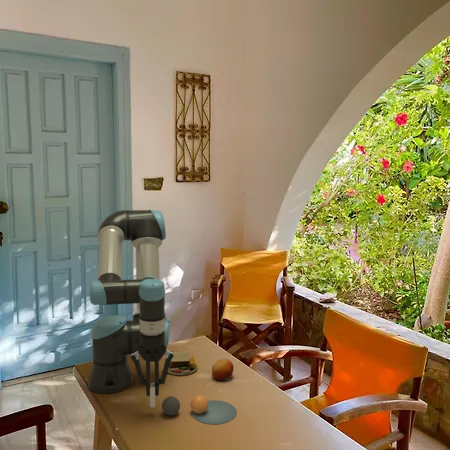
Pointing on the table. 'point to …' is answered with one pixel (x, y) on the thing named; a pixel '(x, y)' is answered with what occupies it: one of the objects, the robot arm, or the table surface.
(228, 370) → the fruit
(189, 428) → the table surface
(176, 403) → the dark grey ball
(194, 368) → the toy sandwich meal
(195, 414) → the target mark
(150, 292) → the robot arm
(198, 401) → the orange ball
